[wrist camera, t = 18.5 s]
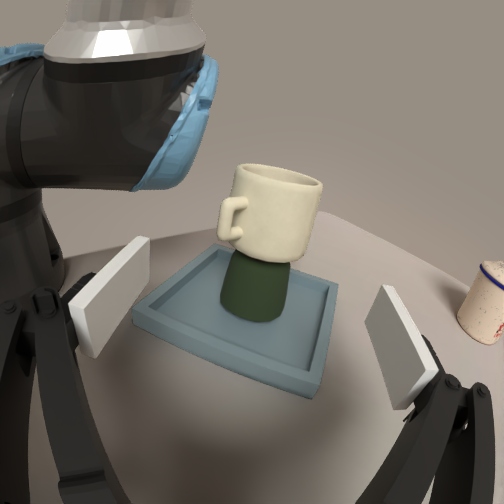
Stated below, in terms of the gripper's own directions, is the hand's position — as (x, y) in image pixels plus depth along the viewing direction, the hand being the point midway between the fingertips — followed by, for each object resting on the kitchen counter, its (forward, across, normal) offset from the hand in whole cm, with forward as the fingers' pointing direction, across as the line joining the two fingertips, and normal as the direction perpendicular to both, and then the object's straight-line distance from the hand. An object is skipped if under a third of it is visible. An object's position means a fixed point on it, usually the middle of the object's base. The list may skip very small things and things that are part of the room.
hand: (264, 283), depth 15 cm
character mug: (+10, 0, -9) cm, 13 cm away
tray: (+10, 0, -9) cm, 13 cm away
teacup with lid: (+14, +35, -10) cm, 39 cm away
